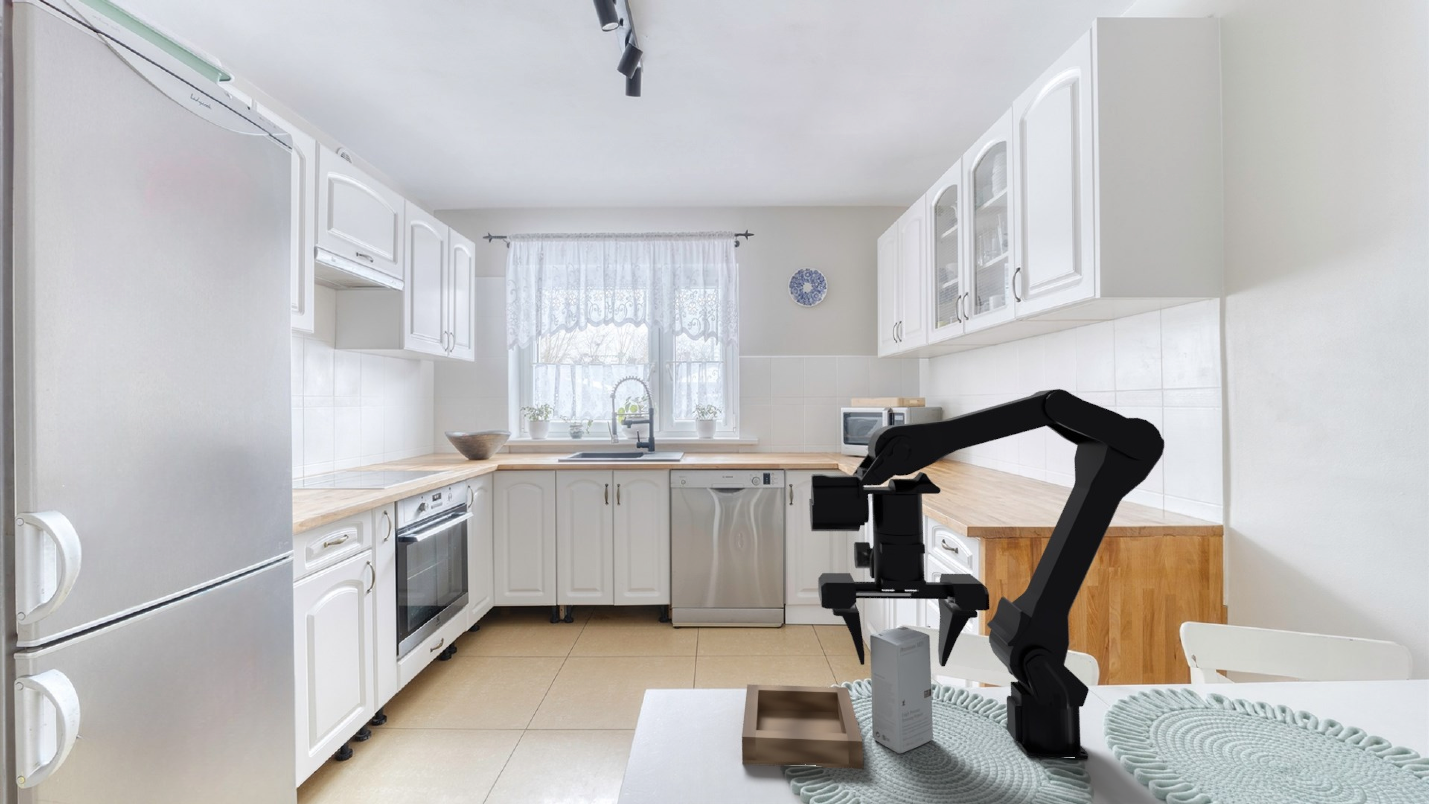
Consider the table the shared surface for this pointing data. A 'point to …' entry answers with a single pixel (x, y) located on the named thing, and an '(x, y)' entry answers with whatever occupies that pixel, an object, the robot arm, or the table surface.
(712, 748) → the table surface
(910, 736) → the skincare box
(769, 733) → the brown wooden tray
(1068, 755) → the robot arm
